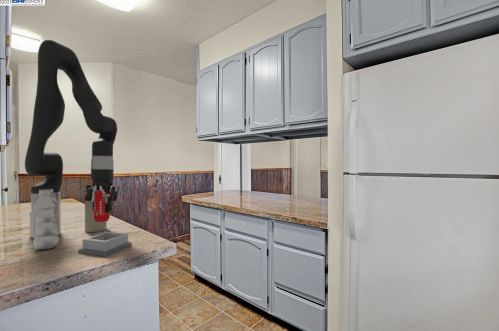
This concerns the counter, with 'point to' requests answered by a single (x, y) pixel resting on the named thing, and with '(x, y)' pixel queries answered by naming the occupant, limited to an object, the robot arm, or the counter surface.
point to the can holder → (105, 244)
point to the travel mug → (92, 218)
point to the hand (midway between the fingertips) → (102, 211)
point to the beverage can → (100, 207)
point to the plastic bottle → (46, 220)
